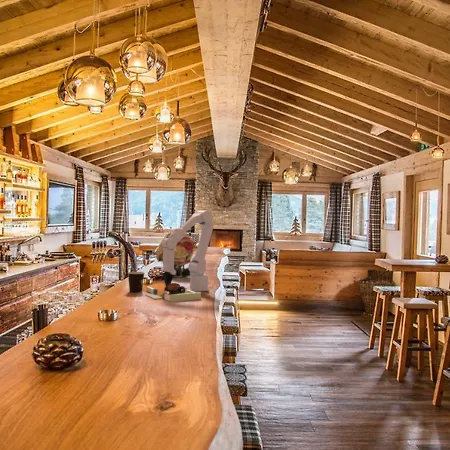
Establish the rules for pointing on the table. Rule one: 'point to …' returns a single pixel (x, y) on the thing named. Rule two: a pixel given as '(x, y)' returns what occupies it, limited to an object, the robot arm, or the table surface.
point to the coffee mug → (135, 281)
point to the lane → (174, 295)
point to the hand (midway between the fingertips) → (167, 286)
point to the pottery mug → (174, 288)
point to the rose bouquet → (180, 256)
